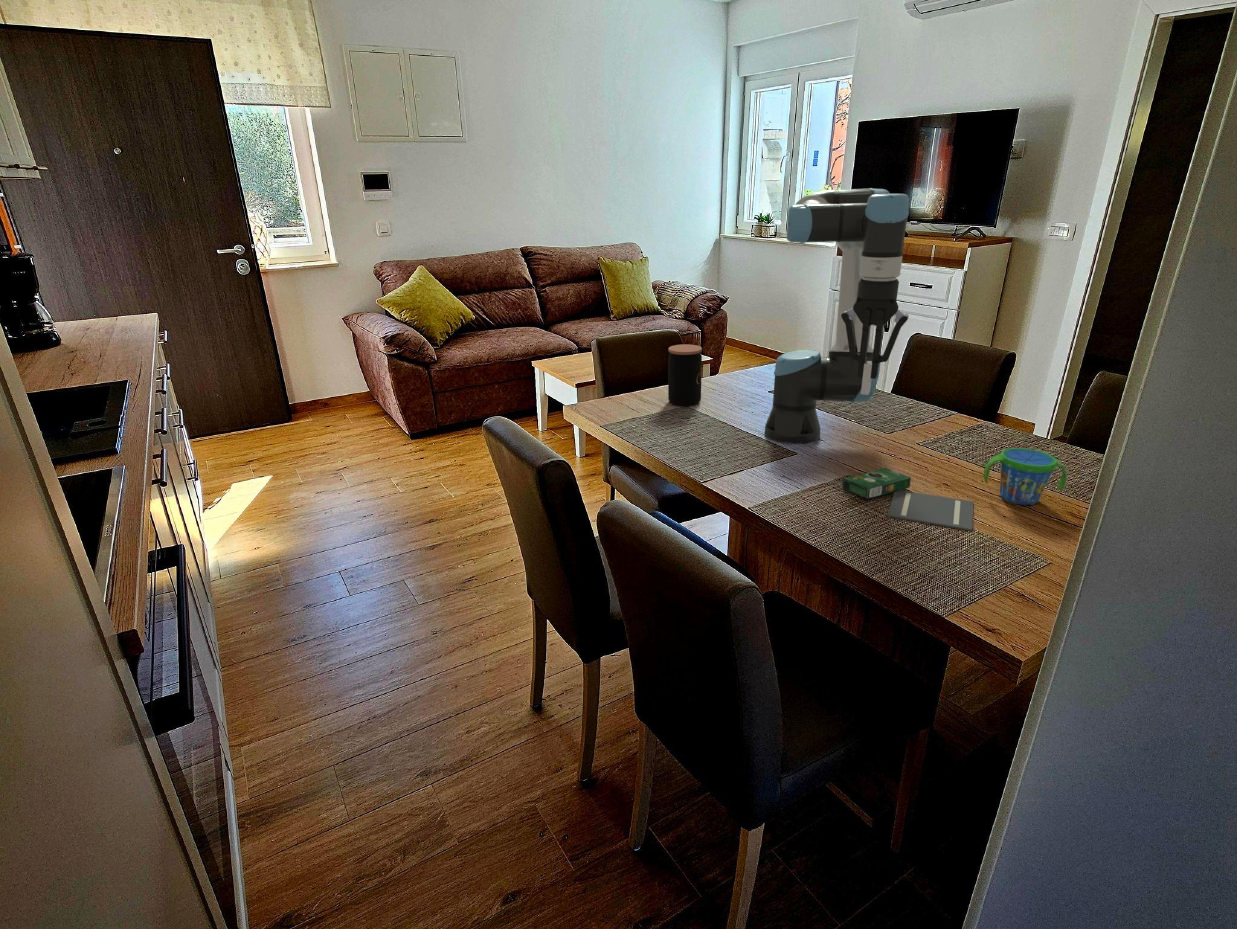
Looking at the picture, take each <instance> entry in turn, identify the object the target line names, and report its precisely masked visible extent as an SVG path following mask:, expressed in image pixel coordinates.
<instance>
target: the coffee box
mask: <svg viewBox="0 0 1237 929" xmlns="http://www.w3.org/2000/svg"><path fill="white" fill-rule="evenodd" d="M911 481H912V478H911V477H910V476H908V475H905V474H903V473H901V472H898V471H895V470H892V469H890V468H888V467H882V468H878V469H874V470H871V471H868V472H864V473H859V474H856V475H855V474H854V475H852V476H848V477H847V476H846V477H844V478H843V479H842V489H843V490H845V491H848V492H850V493H853V494H854V495H857V496H860V497H862V498H865V499H872V498H875V497H879V496H883V495H887V494H890V493H894V492H895V491H899V490H903V491H904V490H907V489H909V488H910V487H911Z"/></svg>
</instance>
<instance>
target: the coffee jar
mask: <svg viewBox="0 0 1237 929" xmlns="http://www.w3.org/2000/svg"><path fill="white" fill-rule="evenodd" d="M702 351H703V347H701V345H697V344H696V345H695V344H686V343H685V344H675V345H671V346H669V347H668V353H669V354H668V357H667V360H668V361H667V362H668V365H667V366H668V368H667V369H668V370H667V372H668V377H667V378H668V379H667V380H668V382H667V383H668V384H667V386H668V387H667V390H668V391H667V392H668V393H667V394H668V396H667V397H668V398H667V399H668V401H669V403H670V404H671V405H672V406H674V407H681V408H682V407H683V408H684V407H685V408H688V407H694V406H698V405H699V403H700V402H701V400H702V377H703V376H702V373H703V371H702V370H703V369H702V367H703V366H702V364H703V362H702V361H703V356H702Z"/></svg>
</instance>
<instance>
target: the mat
mask: <svg viewBox="0 0 1237 929" xmlns="http://www.w3.org/2000/svg"><path fill="white" fill-rule="evenodd" d="M892 495H893V496H892V499H891V502H890V504H889V508H888V513H887V518H893V519H899V520H904V521H905V520H906V521H910V522H917V523H923V524H927V525H934V526H941V527H946V528H951V529H957V530H964V531H969V532H973V526H974V525H973V524H974V523H973V519H974V518H973V516H974V501H973V500H966V499H960V498H954V497H948V496H940V495H934V494H928V493H921V492H913V491H907V490H904V489H903V490H899V491H895V492H893V494H892Z"/></svg>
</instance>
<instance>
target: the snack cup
mask: <svg viewBox="0 0 1237 929" xmlns="http://www.w3.org/2000/svg"><path fill="white" fill-rule="evenodd" d="M997 462H1000V465H1001V466H1000V478H999V479H1000V482H999V483H1000V484H999V485H1000V486H999V494H1000V495H999V496H1000V497H1001V498H1002V499H1003V500H1005V501H1007V502H1010V503H1012V504H1014V505H1023V506H1025V505H1030V506H1034V505H1035V504H1037V503H1038V502H1040V500H1041V498H1042V495H1043V493H1044V491H1045V489H1046V486H1047V483H1048V481H1049V480H1050V477H1051V475H1052V473H1053V472H1054V471H1055V470H1056V467H1060V468H1061V469H1062V474H1061V476H1060V479H1059V481H1058V484H1057V487H1058V489H1059V490H1063V489H1064V488H1065V486H1066V483H1067V477H1068V476H1067V475H1068V474H1067V469H1066V467H1065V466H1064V465H1063V463H1061V461H1060V460H1057V458H1056V457H1054V456H1053V455H1051V454H1049V453H1047V452H1043V451H1040V450H1036V449H1030V448H1024V447H1023V448H1021V447H1013V448H1012V447H1011V448H1006V449H1005V448H1004V449H1003V450H1002V451H1001V452H1000V453H999V454H998V455H995V456H993V457H992V458H991V459H990V460H989V461H988V462H987V463H986V465H985V467H984V470H983V480H984V483H985V484H988V483H989V482H988V479H989V475H990V471H991V467H992V465H994V464H995V463H997Z"/></svg>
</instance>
